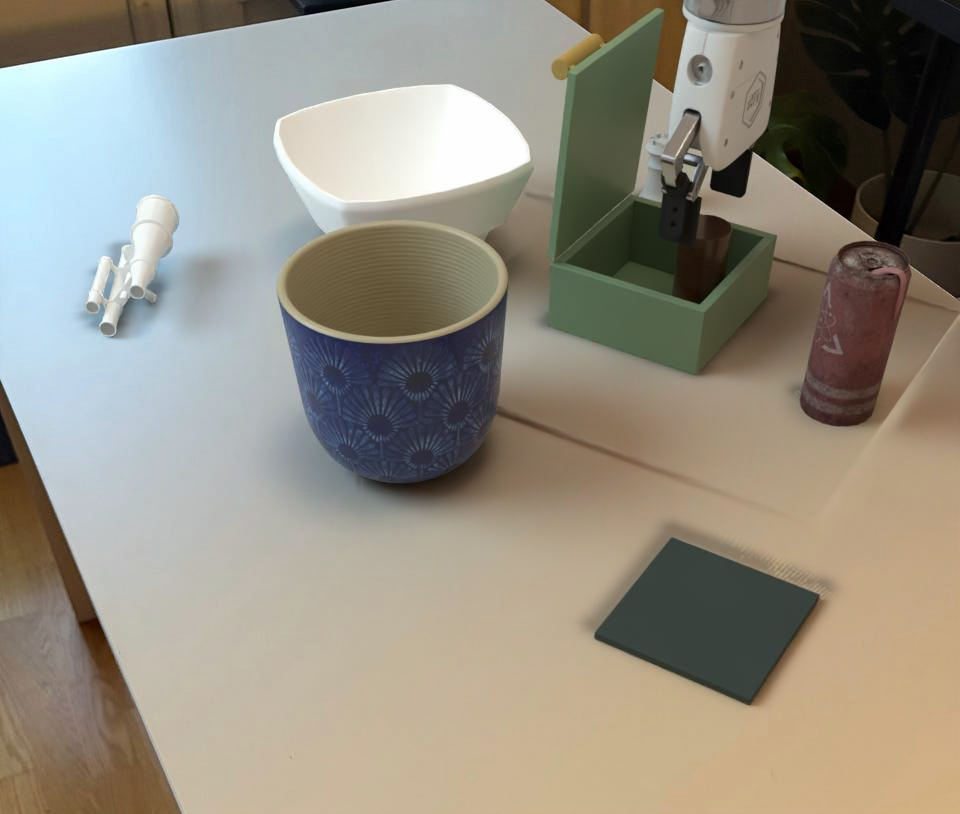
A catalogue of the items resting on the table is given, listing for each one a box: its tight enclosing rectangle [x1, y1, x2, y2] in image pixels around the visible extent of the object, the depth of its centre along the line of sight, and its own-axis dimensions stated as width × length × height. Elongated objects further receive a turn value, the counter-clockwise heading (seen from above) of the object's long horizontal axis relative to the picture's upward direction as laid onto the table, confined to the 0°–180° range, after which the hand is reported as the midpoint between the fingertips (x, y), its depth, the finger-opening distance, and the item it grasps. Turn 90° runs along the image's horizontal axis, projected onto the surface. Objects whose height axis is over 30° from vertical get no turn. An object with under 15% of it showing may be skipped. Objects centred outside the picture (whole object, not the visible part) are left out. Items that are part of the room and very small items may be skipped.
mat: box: [594, 536, 821, 706], centre depth 87 cm, size 12×12×1 cm
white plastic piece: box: [84, 194, 180, 338], centre depth 114 cm, size 8×14×5 cm
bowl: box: [272, 83, 535, 242], centre depth 115 cm, size 22×22×12 cm
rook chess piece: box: [638, 131, 668, 203], centre depth 122 cm, size 4×4×8 cm
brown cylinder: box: [672, 214, 732, 305], centre depth 107 cm, size 4×4×9 cm
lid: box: [546, 7, 665, 261], centre depth 104 cm, size 16×15×5 cm
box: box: [548, 193, 778, 376], centre depth 110 cm, size 15×15×7 cm
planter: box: [276, 220, 509, 484], centre depth 95 cm, size 17×17×15 cm
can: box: [799, 240, 913, 428], centre depth 97 cm, size 6×6×14 cm
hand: (702, 216), depth 103 cm, fingers open, 9 cm apart
